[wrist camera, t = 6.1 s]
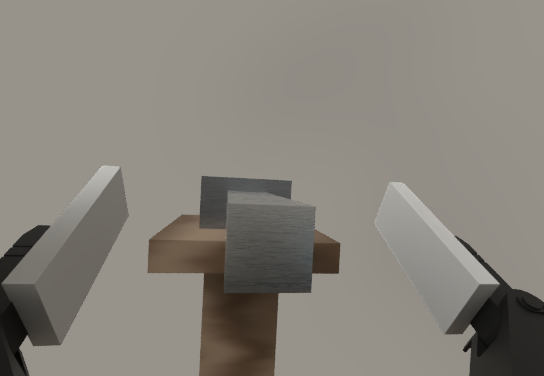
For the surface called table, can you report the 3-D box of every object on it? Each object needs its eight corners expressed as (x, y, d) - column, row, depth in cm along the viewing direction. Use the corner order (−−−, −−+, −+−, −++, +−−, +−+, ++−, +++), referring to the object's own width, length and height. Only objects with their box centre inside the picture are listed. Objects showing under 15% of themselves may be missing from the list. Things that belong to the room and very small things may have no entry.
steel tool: (160, 293, 9) (166, 169, 9) (205, 218, 28) (207, 177, 28) (365, 292, 10) (371, 180, 10) (276, 220, 29) (278, 180, 29)
